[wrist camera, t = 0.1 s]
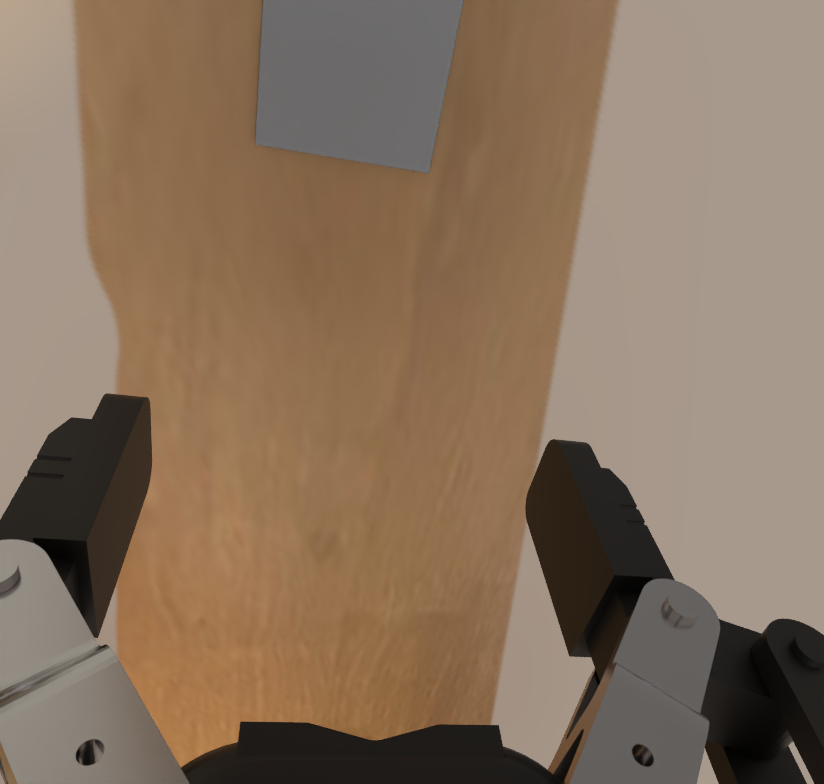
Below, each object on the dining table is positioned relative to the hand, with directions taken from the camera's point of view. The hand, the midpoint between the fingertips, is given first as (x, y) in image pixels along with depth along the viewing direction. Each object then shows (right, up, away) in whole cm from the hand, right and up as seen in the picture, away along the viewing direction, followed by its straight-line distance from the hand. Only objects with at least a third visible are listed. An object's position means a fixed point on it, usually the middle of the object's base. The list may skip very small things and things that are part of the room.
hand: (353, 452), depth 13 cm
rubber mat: (-2, +20, +22) cm, 29 cm away
